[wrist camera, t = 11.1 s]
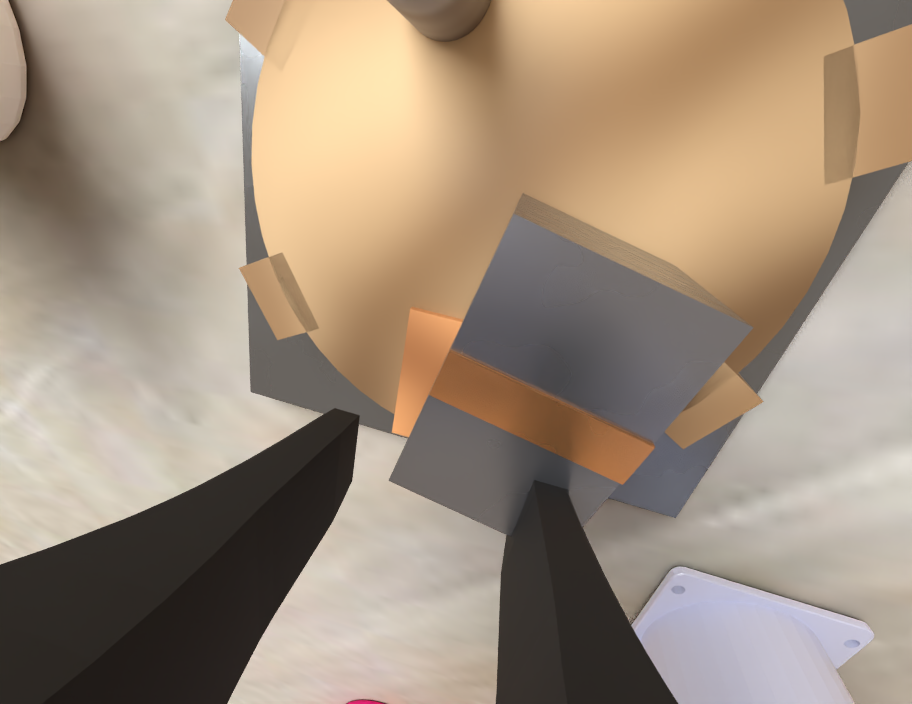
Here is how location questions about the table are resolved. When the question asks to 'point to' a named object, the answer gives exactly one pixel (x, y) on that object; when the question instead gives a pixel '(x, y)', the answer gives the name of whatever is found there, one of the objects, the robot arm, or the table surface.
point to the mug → (11, 71)
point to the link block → (562, 370)
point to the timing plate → (668, 466)
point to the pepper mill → (364, 702)
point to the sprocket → (552, 160)
